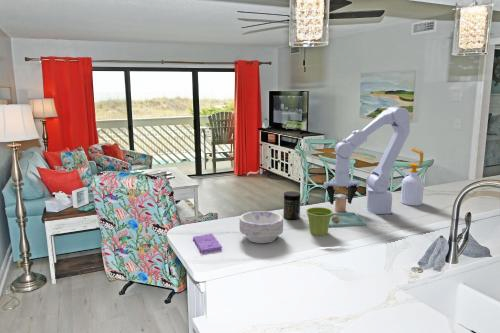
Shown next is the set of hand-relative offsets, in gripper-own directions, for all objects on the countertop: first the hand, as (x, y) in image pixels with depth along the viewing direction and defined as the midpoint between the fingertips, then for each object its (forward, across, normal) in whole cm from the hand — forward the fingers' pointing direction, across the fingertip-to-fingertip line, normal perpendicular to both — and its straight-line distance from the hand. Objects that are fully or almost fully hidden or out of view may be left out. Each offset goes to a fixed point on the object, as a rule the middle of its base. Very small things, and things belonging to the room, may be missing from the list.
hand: (340, 203), depth 162 cm
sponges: (+5, +56, +26) cm, 62 cm away
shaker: (+4, 0, 0) cm, 4 cm away
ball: (+3, +7, +14) cm, 16 cm away
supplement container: (+4, +22, +5) cm, 23 cm away
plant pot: (+4, +16, +22) cm, 27 cm away
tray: (+4, +4, +11) cm, 12 cm away
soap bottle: (+4, -36, -8) cm, 37 cm away
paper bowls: (+4, +37, +23) cm, 44 cm away
